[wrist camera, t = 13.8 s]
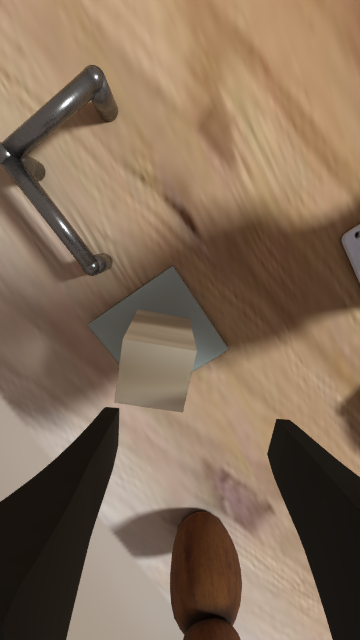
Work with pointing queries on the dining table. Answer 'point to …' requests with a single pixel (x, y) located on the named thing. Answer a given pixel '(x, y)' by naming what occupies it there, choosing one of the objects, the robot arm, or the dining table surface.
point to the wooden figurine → (205, 579)
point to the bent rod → (31, 171)
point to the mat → (165, 298)
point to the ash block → (156, 361)
